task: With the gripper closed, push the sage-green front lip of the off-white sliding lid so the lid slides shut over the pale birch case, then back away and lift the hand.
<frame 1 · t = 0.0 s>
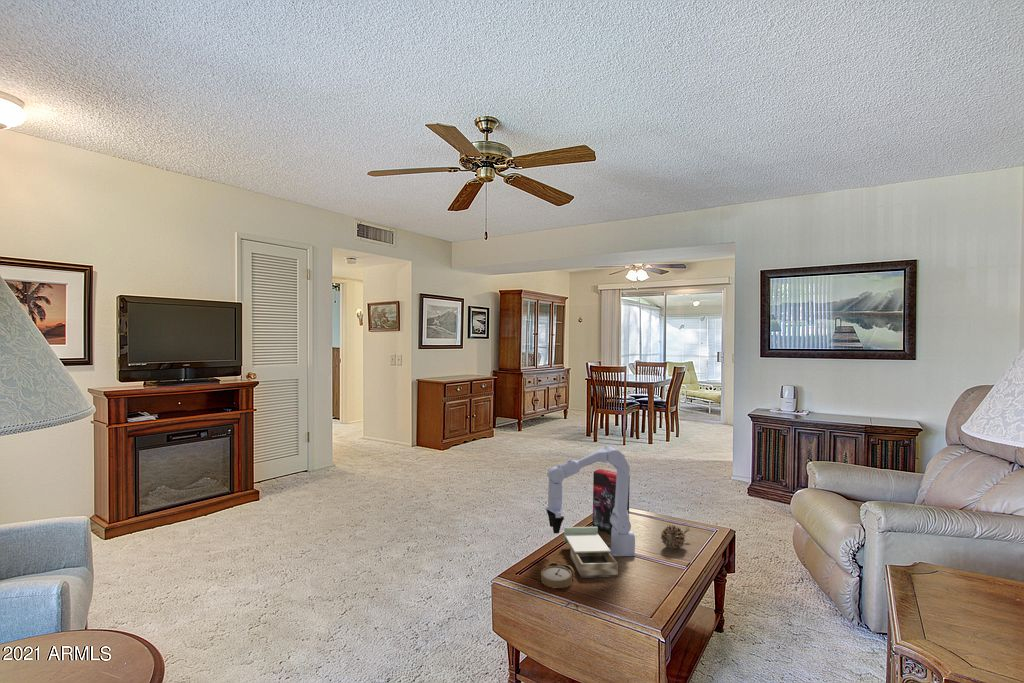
hand: (554, 529, 210), 10 cm above the table, tool pointing down, fingers open, 7 cm apart
case: (593, 567, 199), on the table
alarm clock: (557, 581, 187), on the table
pine cone: (676, 546, 222), on the table
lid: (586, 542, 209), point 6 cm above the table, slide at 10.0 cm
graphics card box: (610, 531, 239), on the table
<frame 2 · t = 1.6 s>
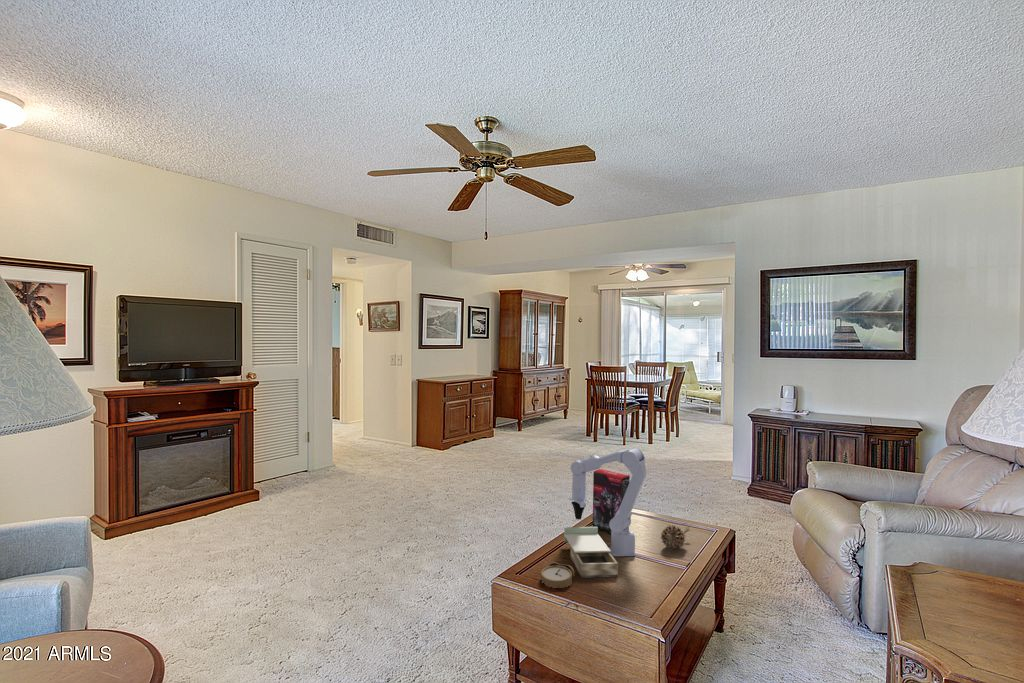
hand: (578, 518, 224), 10 cm above the table, tool pointing down, fingers closed
nothing on the table moved.
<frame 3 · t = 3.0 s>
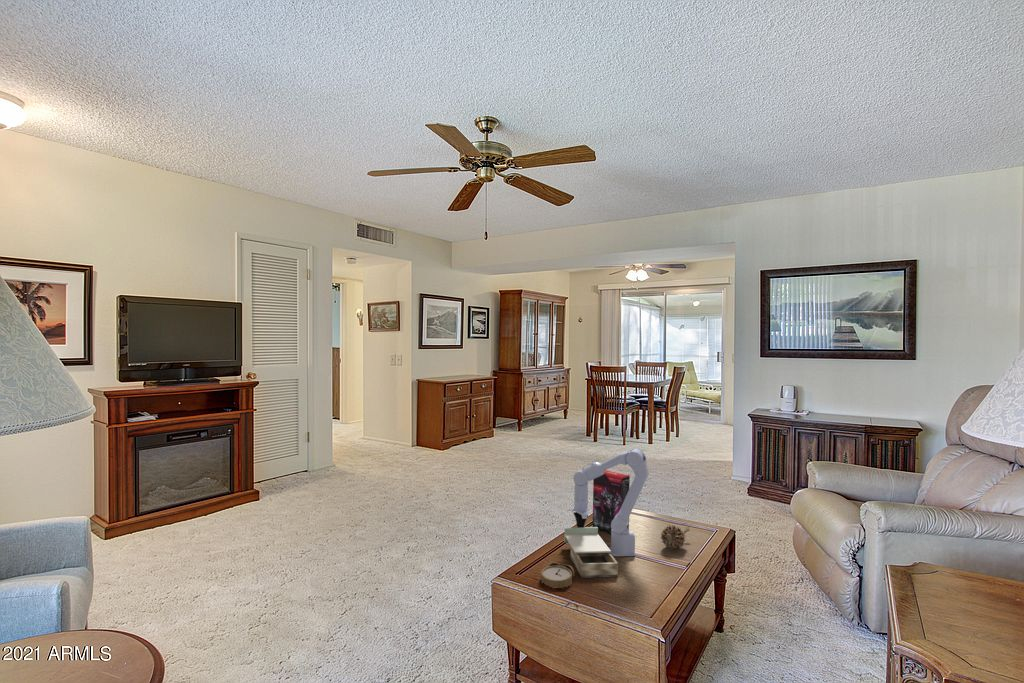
hand: (580, 530, 220), 7 cm above the table, tool pointing down, fingers closed
lid: (586, 542, 209), point 5 cm above the table, slide at 9.6 cm, touching gripper
everything else where it was.
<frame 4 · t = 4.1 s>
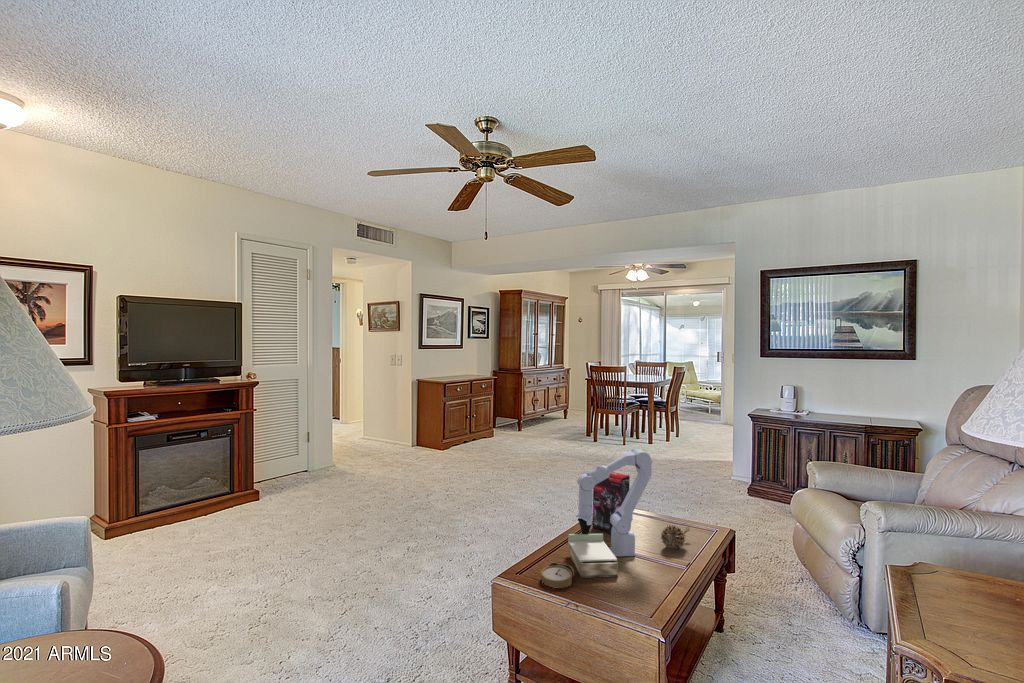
hand: (584, 536, 212), 7 cm above the table, tool pointing down, fingers closed
lid: (591, 550, 201), point 6 cm above the table, slide at 1.8 cm, touching gripper
everything else where it was.
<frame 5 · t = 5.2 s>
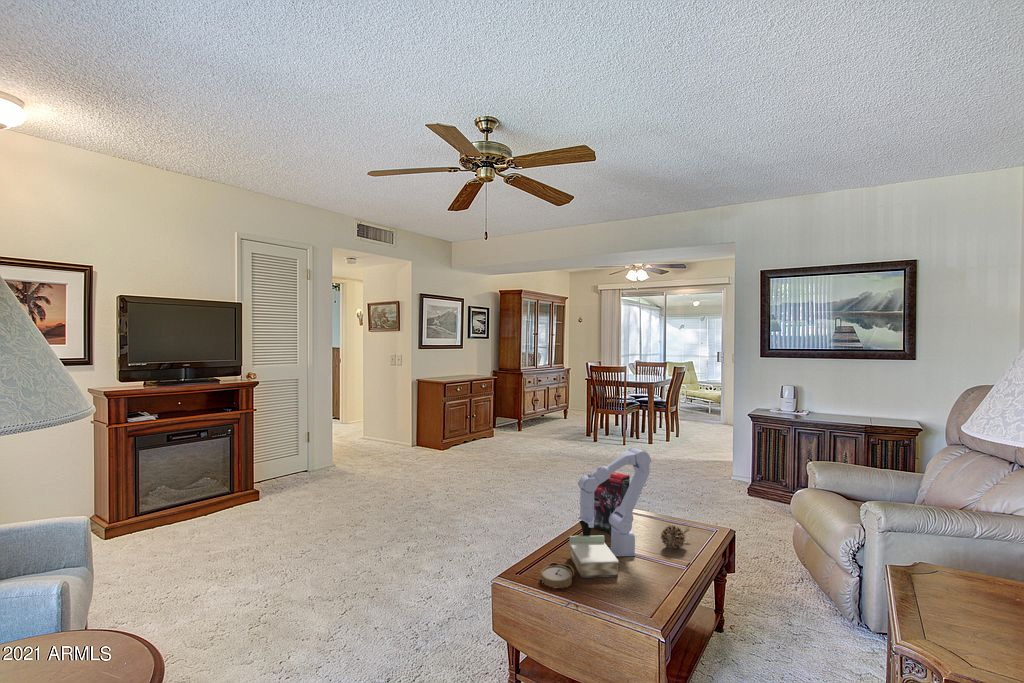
hand: (586, 539, 209), 7 cm above the table, tool pointing down, fingers closed, pressing on lid
lid: (593, 552, 199), point 6 cm above the table, slide at -0.2 cm, touching gripper
everything else where it was.
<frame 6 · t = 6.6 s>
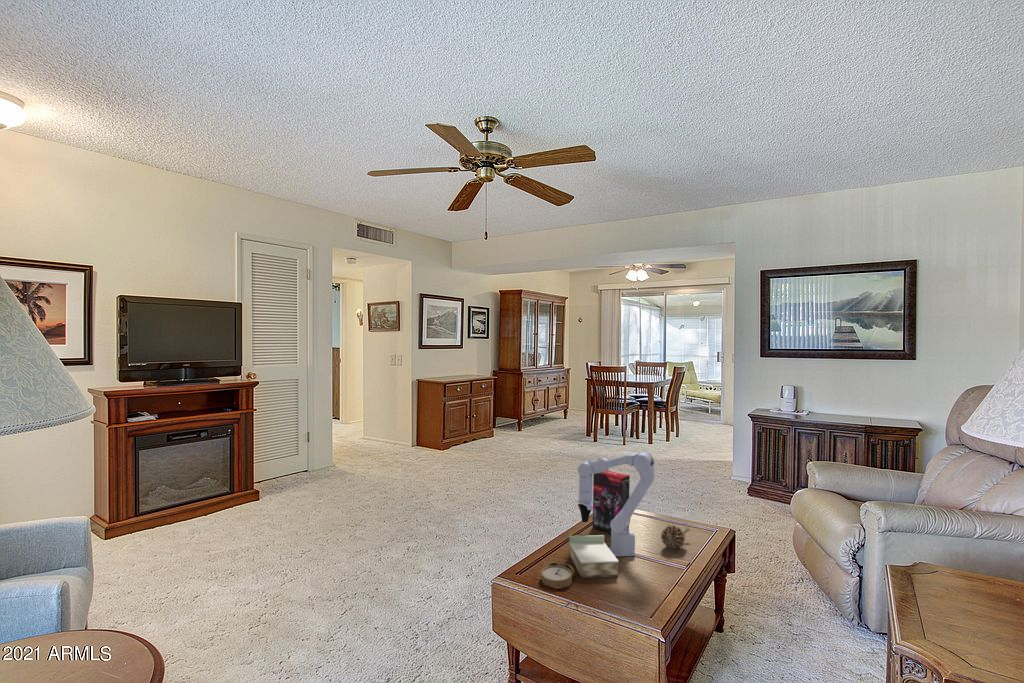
hand: (584, 521, 220), 10 cm above the table, tool pointing down, fingers closed
lid: (593, 552, 199), point 6 cm above the table, slide at 0.0 cm
everything else where it was.
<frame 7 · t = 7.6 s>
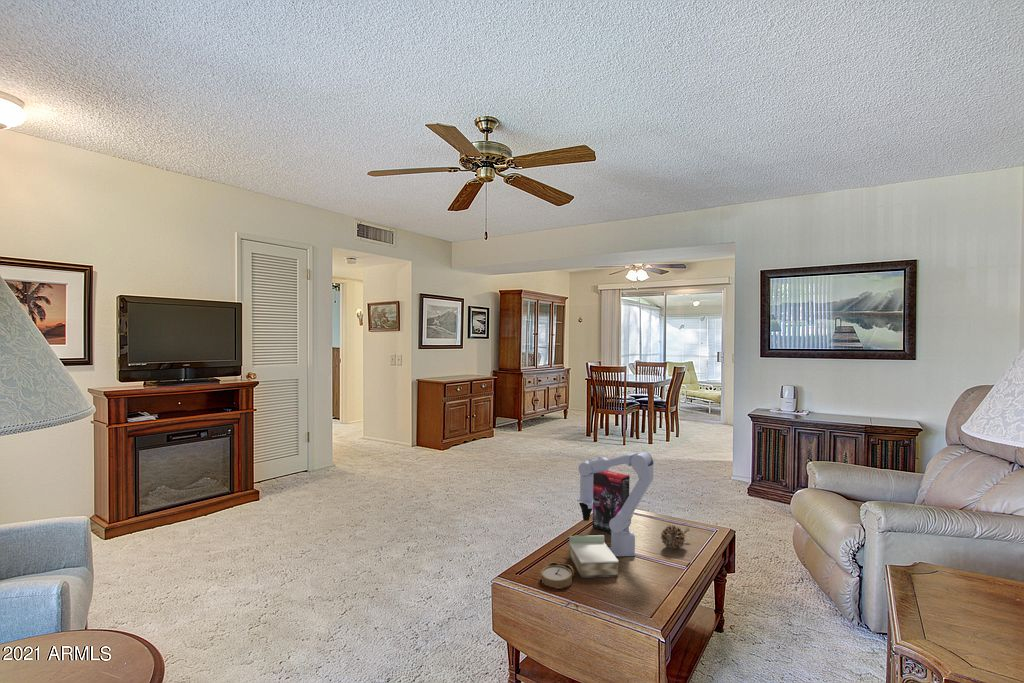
hand: (586, 520, 222), 10 cm above the table, tool pointing down, fingers closed
nothing on the table moved.
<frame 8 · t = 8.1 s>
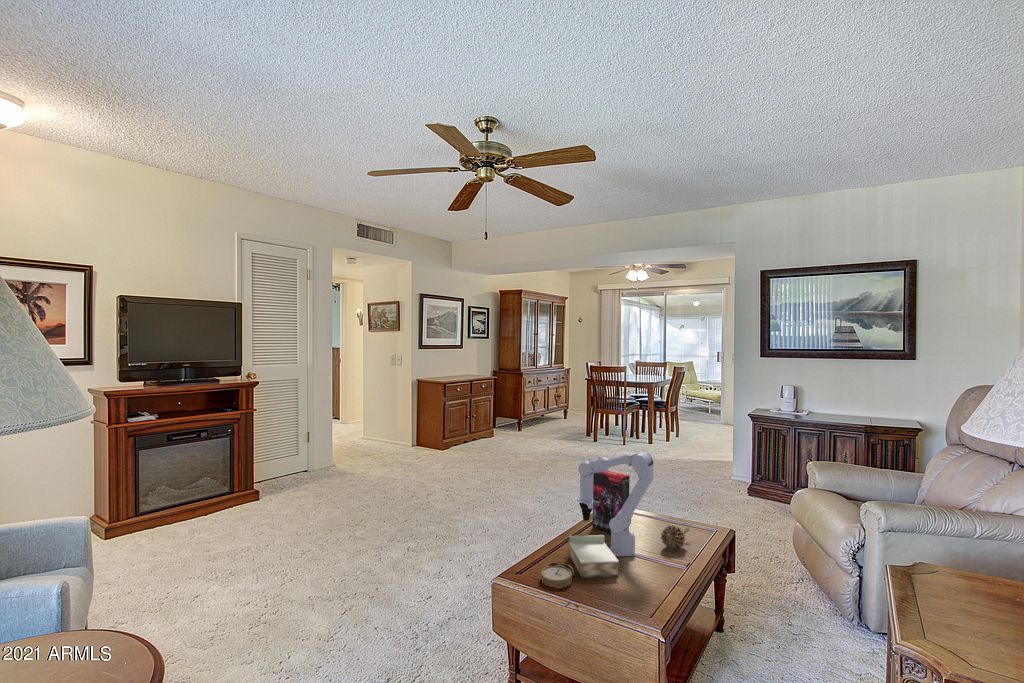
hand: (586, 520, 222), 10 cm above the table, tool pointing down, fingers closed
nothing on the table moved.
at the end: lid slide at 0.0 cm; alarm clock moved 0.6 cm from its start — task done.
